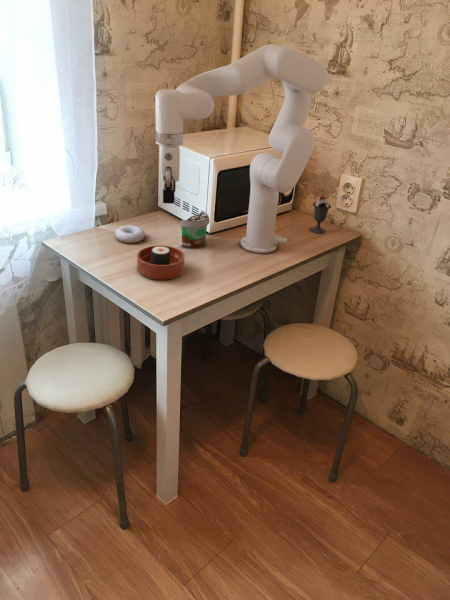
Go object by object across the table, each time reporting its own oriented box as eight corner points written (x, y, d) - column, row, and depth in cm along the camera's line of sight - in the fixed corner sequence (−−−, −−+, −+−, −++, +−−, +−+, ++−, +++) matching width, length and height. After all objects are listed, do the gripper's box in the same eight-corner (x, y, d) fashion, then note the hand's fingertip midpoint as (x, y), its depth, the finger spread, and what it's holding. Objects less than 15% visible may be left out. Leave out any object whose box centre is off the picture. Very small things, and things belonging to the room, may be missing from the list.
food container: (194, 253, 168) (196, 224, 163) (179, 248, 171) (180, 219, 166) (215, 241, 178) (217, 214, 173) (200, 236, 180) (202, 209, 175)
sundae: (315, 225, 198) (322, 188, 190) (329, 231, 194) (337, 193, 186) (304, 229, 194) (311, 191, 186) (318, 235, 190) (326, 196, 182)
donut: (112, 243, 170) (142, 245, 170) (111, 234, 168) (142, 236, 168) (118, 232, 179) (147, 233, 179) (118, 222, 177) (147, 224, 177)
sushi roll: (170, 264, 159) (170, 246, 155) (169, 273, 154) (169, 254, 151) (152, 263, 158) (152, 245, 155) (150, 272, 153) (150, 253, 150)
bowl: (184, 261, 163) (185, 246, 160) (183, 282, 151) (183, 267, 148) (140, 258, 162) (140, 244, 159) (135, 279, 150) (134, 264, 147)
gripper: (182, 146, 135) (181, 208, 144) (183, 131, 149) (182, 187, 158) (153, 145, 134) (154, 207, 143) (157, 129, 149) (158, 186, 158)
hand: (169, 197), depth 151 cm, fingers open, 9 cm apart
